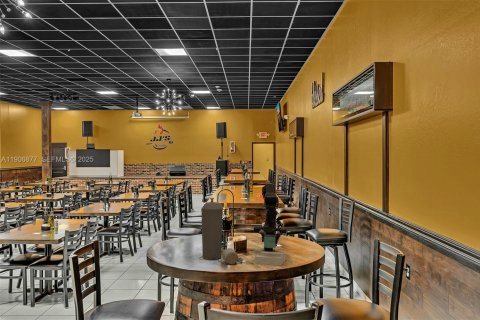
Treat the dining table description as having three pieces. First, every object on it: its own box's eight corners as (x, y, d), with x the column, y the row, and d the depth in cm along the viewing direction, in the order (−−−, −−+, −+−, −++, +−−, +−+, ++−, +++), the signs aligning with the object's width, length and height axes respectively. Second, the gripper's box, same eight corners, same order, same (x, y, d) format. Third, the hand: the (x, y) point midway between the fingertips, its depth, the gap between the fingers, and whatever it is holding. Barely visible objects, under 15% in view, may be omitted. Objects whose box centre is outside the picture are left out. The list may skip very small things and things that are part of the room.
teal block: (266, 245, 245) (266, 234, 245) (277, 245, 243) (277, 235, 243) (264, 247, 239) (264, 236, 239) (274, 248, 237) (274, 237, 237)
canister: (198, 260, 245) (198, 198, 245) (203, 255, 258) (203, 196, 258) (220, 260, 244) (220, 198, 244) (224, 255, 256) (224, 197, 256)
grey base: (262, 258, 250) (262, 251, 250) (285, 259, 245) (285, 252, 245) (255, 263, 236) (255, 256, 236) (280, 265, 232) (280, 258, 232)
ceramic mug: (226, 265, 233) (226, 251, 233) (221, 262, 240) (222, 248, 240) (244, 264, 236) (244, 250, 236) (239, 261, 244) (240, 247, 244)
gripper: (250, 218, 236) (250, 246, 236) (284, 219, 230) (284, 248, 230) (256, 215, 247) (256, 242, 247) (288, 216, 241) (288, 244, 241)
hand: (270, 244), depth 241 cm, fingers closed on teal block, 6 cm apart
